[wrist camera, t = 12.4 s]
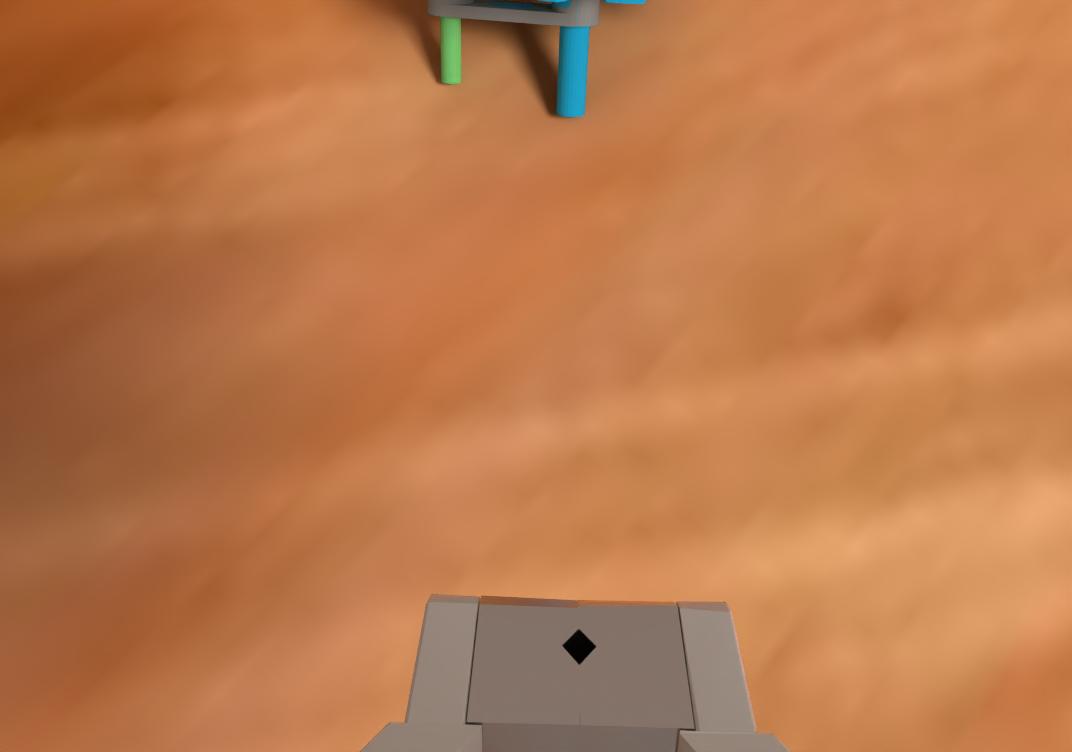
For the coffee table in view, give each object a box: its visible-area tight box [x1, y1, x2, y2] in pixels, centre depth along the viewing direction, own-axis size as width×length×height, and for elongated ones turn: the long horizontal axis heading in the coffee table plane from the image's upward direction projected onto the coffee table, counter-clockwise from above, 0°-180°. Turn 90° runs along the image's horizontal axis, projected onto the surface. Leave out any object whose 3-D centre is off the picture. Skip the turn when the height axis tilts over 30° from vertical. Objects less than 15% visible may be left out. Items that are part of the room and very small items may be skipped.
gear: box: [427, 0, 646, 117], centre depth 33 cm, size 11×6×10 cm
